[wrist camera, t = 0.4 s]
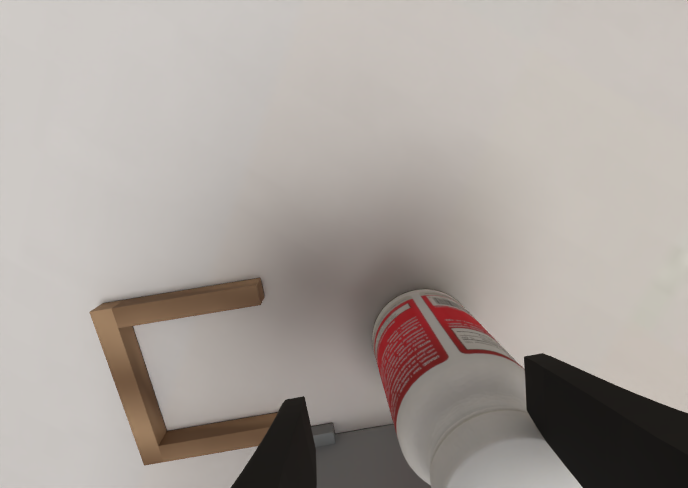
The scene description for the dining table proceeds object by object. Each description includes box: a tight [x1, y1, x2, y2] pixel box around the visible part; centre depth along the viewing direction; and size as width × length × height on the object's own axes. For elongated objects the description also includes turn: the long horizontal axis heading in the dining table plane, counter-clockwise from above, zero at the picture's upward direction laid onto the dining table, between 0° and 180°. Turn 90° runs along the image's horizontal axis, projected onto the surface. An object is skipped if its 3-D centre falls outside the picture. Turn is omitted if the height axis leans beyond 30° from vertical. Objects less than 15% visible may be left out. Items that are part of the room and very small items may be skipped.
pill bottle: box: [372, 289, 582, 488], centre depth 16 cm, size 6×6×11 cm
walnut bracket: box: [90, 278, 278, 465], centre depth 21 cm, size 10×9×1 cm
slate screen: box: [311, 423, 431, 488], centre depth 20 cm, size 3×14×6 cm, turn 98°
